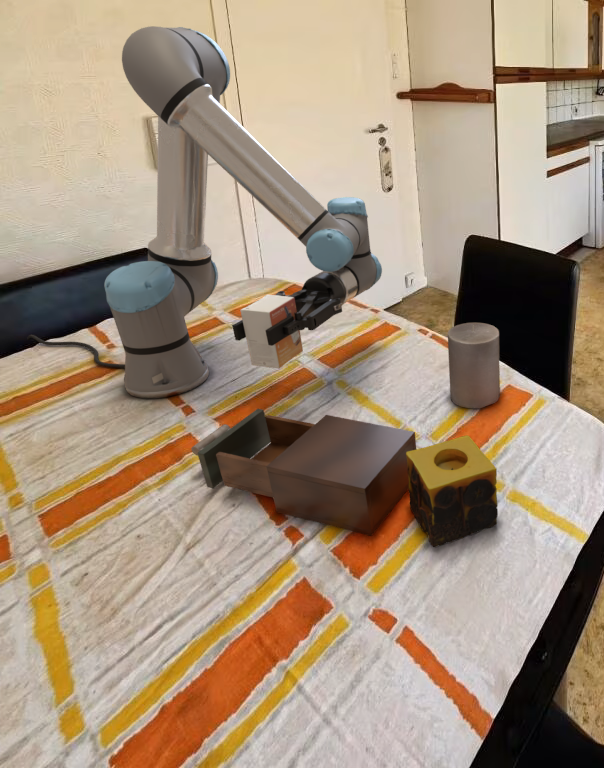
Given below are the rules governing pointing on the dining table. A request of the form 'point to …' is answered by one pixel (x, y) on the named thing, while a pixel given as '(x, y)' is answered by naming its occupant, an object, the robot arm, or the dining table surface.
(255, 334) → the small box
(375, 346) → the dining table surface
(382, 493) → the cabinet
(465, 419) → the dining table surface
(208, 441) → the drawer
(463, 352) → the grey upright cylinder
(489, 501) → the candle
